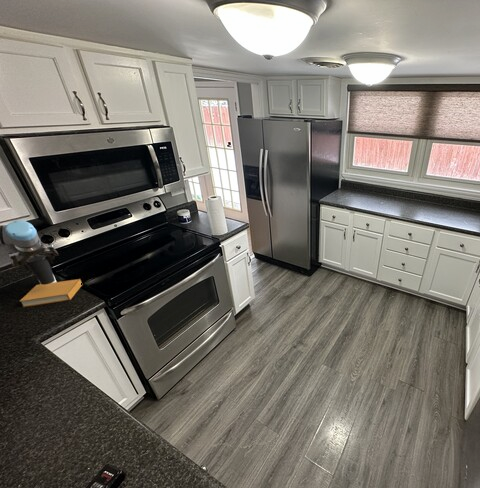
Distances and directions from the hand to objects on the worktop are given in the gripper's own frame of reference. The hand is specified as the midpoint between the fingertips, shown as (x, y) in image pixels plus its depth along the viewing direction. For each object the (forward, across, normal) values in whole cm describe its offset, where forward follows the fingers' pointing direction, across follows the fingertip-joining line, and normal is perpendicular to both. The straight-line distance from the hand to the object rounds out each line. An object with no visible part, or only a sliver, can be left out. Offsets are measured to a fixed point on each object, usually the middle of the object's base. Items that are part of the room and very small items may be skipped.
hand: (39, 264), depth 128 cm
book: (+9, 0, -14) cm, 17 cm away
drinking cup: (+4, 0, -9) cm, 9 cm away
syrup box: (+19, 0, -4) cm, 20 cm away
